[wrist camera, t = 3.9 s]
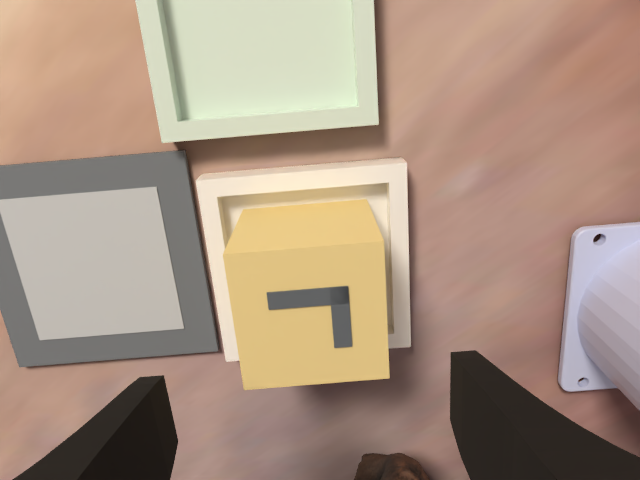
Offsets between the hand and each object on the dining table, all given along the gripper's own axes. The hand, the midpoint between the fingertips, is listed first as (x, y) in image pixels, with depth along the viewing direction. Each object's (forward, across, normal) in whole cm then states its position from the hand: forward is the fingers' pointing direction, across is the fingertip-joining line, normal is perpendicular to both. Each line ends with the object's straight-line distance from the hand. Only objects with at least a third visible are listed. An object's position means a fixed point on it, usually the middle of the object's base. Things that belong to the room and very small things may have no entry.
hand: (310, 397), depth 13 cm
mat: (+9, +9, 0) cm, 13 cm away
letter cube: (+9, 0, 0) cm, 9 cm away
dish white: (+9, 0, 0) cm, 9 cm away
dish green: (+9, +1, -10) cm, 13 cm away
